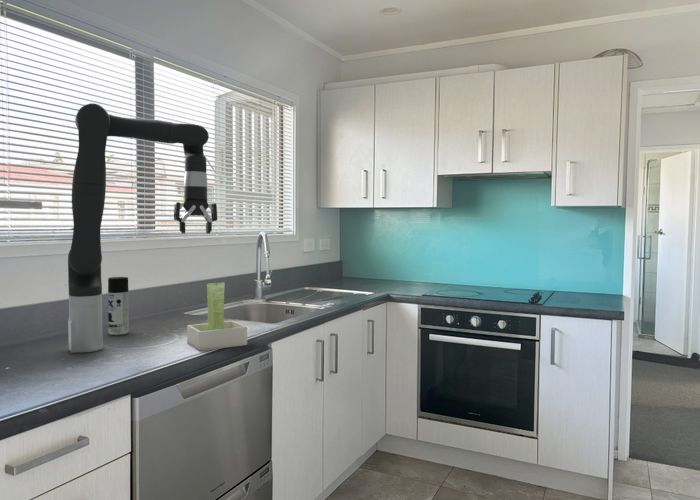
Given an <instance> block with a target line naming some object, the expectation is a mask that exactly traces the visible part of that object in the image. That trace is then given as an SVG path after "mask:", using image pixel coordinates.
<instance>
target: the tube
mask: <svg viewBox="0 0 700 500" xmlns="http://www.w3.org/2000/svg"><path fill="white" fill-rule="evenodd" d="M225 286H226V283H225V281H222V282H212V283H206V293H207V295H206V297H207V323H208V330H217V329H224V322H225V318H224V317H225V315H224V314H225V288H226V287H225Z"/></svg>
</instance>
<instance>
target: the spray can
mask: <svg viewBox="0 0 700 500" xmlns="http://www.w3.org/2000/svg"><path fill="white" fill-rule="evenodd" d="M129 307H130V306H129V277H128V276H112V277H111V276H110V277H108V278H107V309H108V310H107V311H108V313H107V318H108V321H107V322H108V324H107V325H108V328H107V331H108V335H109V336H123V335H127V334H129V329H130V327H129V320H130V319H129V316H130V315H129V312H130V311H129Z"/></svg>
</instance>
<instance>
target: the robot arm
mask: <svg viewBox="0 0 700 500" xmlns="http://www.w3.org/2000/svg"><path fill="white" fill-rule="evenodd" d="M74 122H75V127H76V128H77V131H78V147H77V148H78V150H77V155H76V160H75V164H74V168H73V169H74V170H73V175H72V186H71V208H72V212H71V213H72V221H73V233H72V240H71V244H70V245H71V246H70V250H69V251H68V254H67V255H68V256H67V270H68V271H67V272H68V274H67V275H68V277H67V278H68V281H67V282H68V319H67V324H68V325H67V326H68V330H67V331H68V333H67V335H68V350H69V352H70V353H71V354H74V353H78V354H79V353H91V352H96V351H97V352H98V351H99V350H103V347H104V345H103V343H104V339H103V283H102V261H103V255H102V244H101V227H102V221H103V216H104V210H105V203H106V191H107V169H106V168H107V166H106V165H107V163H106V150H107V149H106V148H107V147H106V146H107V142H108V141H107V140H108V137H117V138H118V137H119V138H129V139H136V140H142V141H143V140H144V141H149V142H157V143H163V144H170V145H171V144H172V145H173V144H181V145H182V146H183V154H184V177H183V186H184V187H183V189H184V192H183V194H184V197H183V202H179V201H178V202H174V207H173V220H174V221H176V222H177V221H178V223H179V232H180V233H181V234H184V235H185V234H186V221H187V219H188V218H189V217H190V216H196V217H197V216H201V217H202V218H203V219H204V220H205V221H206V223H205V233H206V234H211V233H212V230H213V227H212V225H213V222H215V221H218V208H217V206H218V205H217V203H215V202H214V203H208V176H207V175H208V173H207V159H206V156H205V155H204V145H206V144H207V142H208V141H209V138H210V137H209V132H208V130H207V129H206V128H205V127H204V126H202V125H199V124H194V123H178V122H171V121H167V120H159V119H155V118H154V119H153V118H152V119H151V118H135V117H134V118H133V117H130V118H129V117H122V116H118V115H113V114H109V112H107V110H106V109H105V108H104V107H103V106H101V105H100V104H98V103H87V104H84V105H82V107H80V108H79V110H78V111H77V113H76V116H75V118H74ZM182 208H184V210H185V211H184V212H183V213H182V215H181V214H180V213H181V209H182ZM208 209H209V210H210V213H211V214H209V212H207V210H208ZM210 215H211V216H210ZM180 216H181V217H180Z"/></svg>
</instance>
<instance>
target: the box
mask: <svg viewBox="0 0 700 500" xmlns="http://www.w3.org/2000/svg"><path fill="white" fill-rule="evenodd" d="M186 338H187V340H186V343H187V344H188V345H189V346H190V347H192V348H193V349H196V350H197V351H198V352H202V350H204V351H210V350H209V349H211V350H218V349H225V348H226V349H227V348H233V347H241V346H247V345H248V326H246V325H244V324H242V323H240V322H237V321H235V320H227V321H225V320H224V329H217V330H208V322H206V323H198V324H196V323H195V324H189V325H188V324H187V325H186Z"/></svg>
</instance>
